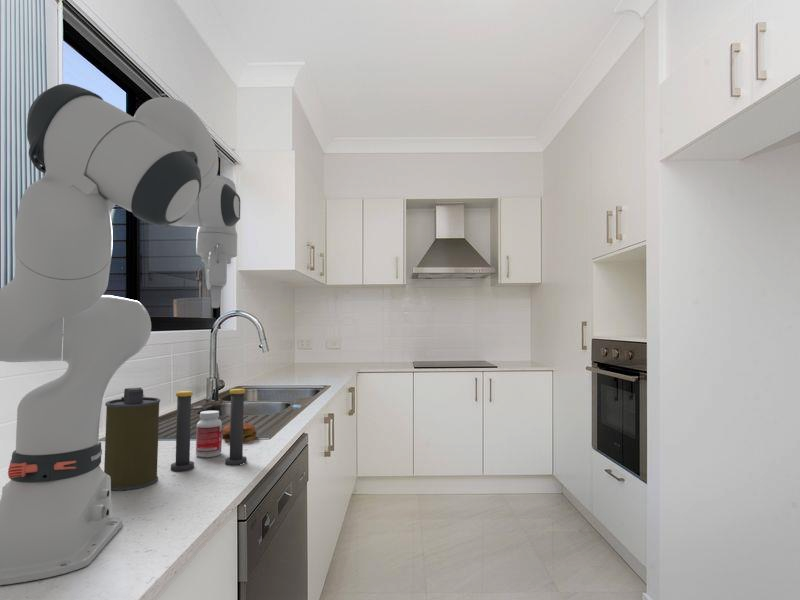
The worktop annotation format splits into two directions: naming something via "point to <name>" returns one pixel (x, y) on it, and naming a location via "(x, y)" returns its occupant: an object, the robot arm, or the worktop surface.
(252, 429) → the burger
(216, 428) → the pill bottle
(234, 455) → the post right
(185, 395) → the post left
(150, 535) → the worktop surface
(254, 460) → the worktop surface
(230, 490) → the worktop surface
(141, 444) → the canister
